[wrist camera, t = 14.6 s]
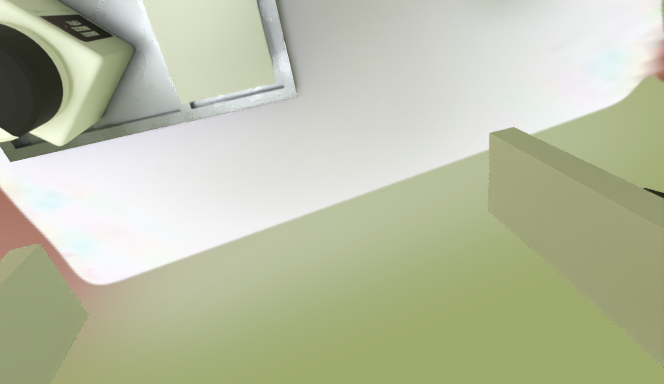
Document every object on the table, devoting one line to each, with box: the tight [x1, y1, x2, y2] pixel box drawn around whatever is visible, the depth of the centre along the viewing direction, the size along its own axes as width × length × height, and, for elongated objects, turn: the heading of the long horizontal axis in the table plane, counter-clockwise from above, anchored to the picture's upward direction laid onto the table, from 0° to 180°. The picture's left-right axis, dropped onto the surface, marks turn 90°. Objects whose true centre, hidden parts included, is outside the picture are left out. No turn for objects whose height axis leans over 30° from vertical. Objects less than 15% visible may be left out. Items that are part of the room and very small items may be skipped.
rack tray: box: [0, 0, 297, 162], centre depth 32 cm, size 14×27×3 cm, turn 101°
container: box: [0, 0, 134, 146], centre depth 26 cm, size 8×8×13 cm
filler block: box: [142, 0, 277, 104], centre depth 30 cm, size 9×8×6 cm
